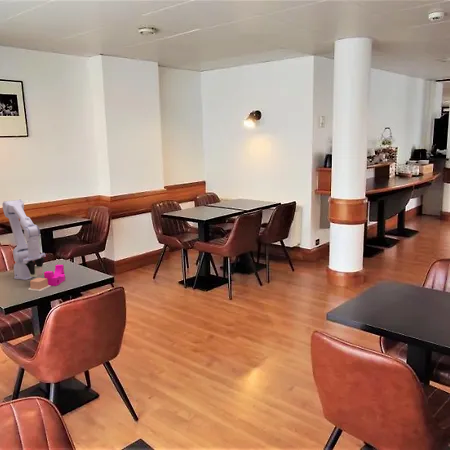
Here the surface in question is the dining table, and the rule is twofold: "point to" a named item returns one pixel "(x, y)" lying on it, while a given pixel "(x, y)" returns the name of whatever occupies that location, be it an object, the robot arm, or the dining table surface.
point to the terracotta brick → (39, 283)
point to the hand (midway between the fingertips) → (36, 273)
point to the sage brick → (37, 272)
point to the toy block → (55, 275)
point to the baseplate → (39, 289)
